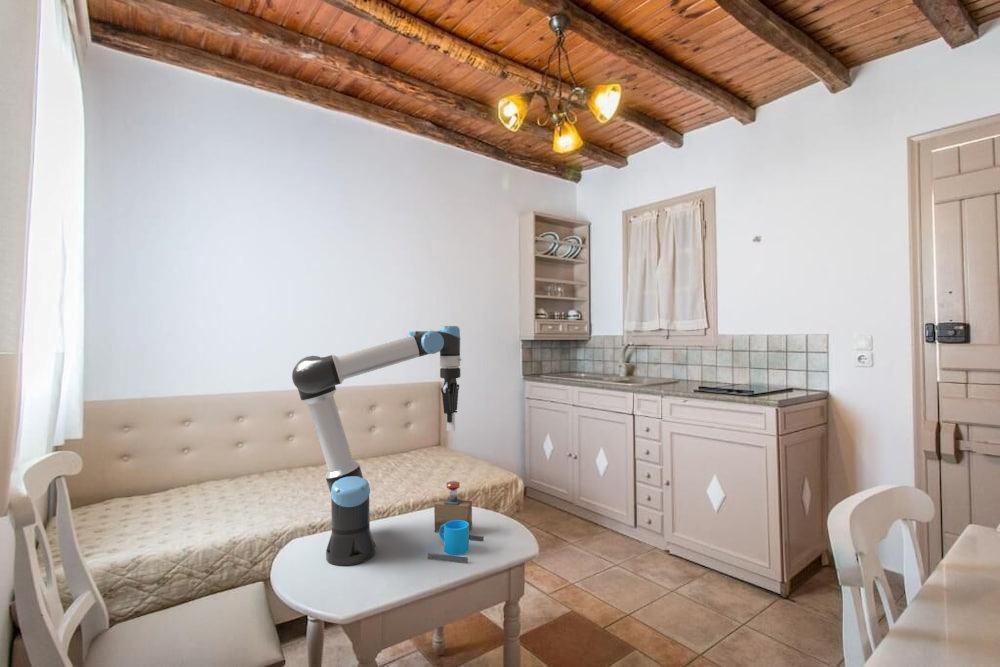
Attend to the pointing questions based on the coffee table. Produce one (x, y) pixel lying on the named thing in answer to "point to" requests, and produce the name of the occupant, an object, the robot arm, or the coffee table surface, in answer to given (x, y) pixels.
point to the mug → (455, 537)
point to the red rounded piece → (453, 490)
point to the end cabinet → (452, 512)
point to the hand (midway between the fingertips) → (450, 430)
